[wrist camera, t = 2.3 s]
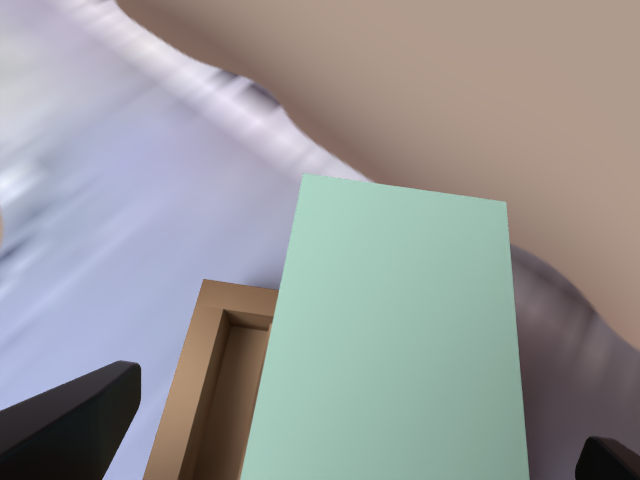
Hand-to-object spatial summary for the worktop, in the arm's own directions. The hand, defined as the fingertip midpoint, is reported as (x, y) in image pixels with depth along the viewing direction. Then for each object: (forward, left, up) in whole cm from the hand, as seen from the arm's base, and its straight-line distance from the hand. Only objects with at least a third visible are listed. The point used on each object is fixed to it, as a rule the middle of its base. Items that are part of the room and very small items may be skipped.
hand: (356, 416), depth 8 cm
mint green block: (0, 0, -7) cm, 7 cm away
